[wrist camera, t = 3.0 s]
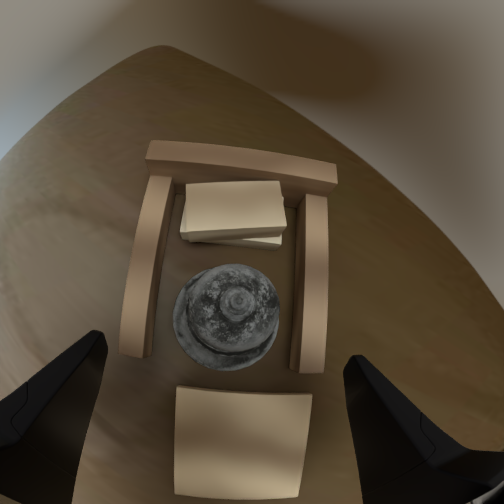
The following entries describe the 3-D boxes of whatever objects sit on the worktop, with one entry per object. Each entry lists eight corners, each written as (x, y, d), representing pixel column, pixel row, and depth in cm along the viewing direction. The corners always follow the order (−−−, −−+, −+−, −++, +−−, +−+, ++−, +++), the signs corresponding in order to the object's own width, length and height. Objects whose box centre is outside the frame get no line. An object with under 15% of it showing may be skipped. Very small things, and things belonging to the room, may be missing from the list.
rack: (310, 368, 18) (336, 376, 14) (129, 351, 16) (105, 355, 12) (315, 193, 22) (335, 164, 18) (160, 174, 21) (151, 140, 16)
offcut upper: (279, 237, 19) (286, 225, 17) (189, 242, 18) (186, 231, 16) (273, 194, 19) (279, 180, 18) (188, 198, 18) (185, 184, 17)
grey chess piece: (185, 274, 19) (145, 183, 7) (269, 282, 19) (345, 208, 8) (177, 359, 17) (115, 399, 5) (264, 366, 17) (342, 412, 6)
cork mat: (294, 492, 15) (297, 496, 14) (175, 488, 14) (174, 493, 13) (308, 392, 17) (312, 394, 16) (178, 384, 16) (176, 387, 16)
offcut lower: (274, 252, 20) (281, 244, 18) (182, 241, 20) (179, 231, 18) (277, 208, 21) (283, 196, 20) (190, 197, 21) (189, 184, 19)
